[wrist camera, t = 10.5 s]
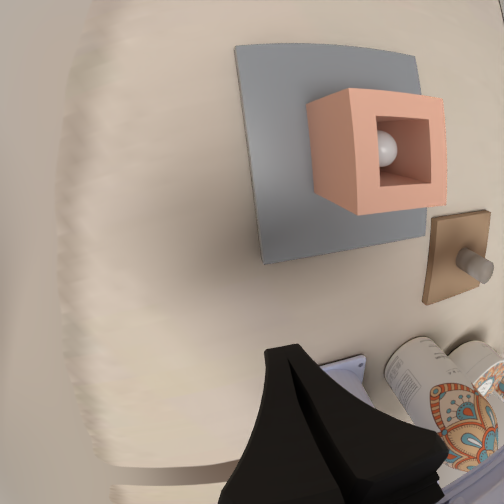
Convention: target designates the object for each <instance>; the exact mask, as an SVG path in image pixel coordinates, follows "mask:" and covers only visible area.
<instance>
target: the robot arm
mask: <svg viewBox="0 0 504 504" xmlns="http://www.w3.org/2000/svg"><path fill="white" fill-rule="evenodd" d="M264 357H265V365H266V372H265V382H264V390H263V395H262V400H261V404H260V409H259V412H258V416H257V419H256V422H255V425H254V428H253V431H252V434H251V436H250V439H249V441H248V444H247V446H246V448H245V450H244V453H243V455H242V457H241V459H240V461H239V462H238V465H237V467H236V468H235V470H234V472H233V474H232V475H231V477H230V478H229V480H228V481H227V483H226V485H225V486H224V488H223V489H222V491H221V494H220V497H219V501H218V504H504V445H503V446H502V447H501V448H499V449H498V450H497V451H496V452H494V453H493V454H492V455H490V456H489V457H488V458H487V459H485V460H484V461H483V462H481V463H480V464H478V465H477V466H476V467H474V468H473V469H471V470H470V471H469V472H467V473H466V474H464V475H463V476H461V477H460V478H458V479H457V480H455V481H453V482H452V483H450V484H448V485H447V486H445V487H444V488H442V489H441V488H440V486H439V482H438V480H439V476H438V474H437V472H436V471H437V469H438V468H439V467H440V466H441V465H442V463H443V462H444V461H445V460H446V458H447V457H448V454H449V449H448V447H447V446H446V444H445V443H444V441H443V440H442V438H441V437H440V436H439V435H438V434H437V433H436V431H433V430H429V429H425V428H422V427H418V426H415V425H412V424H409V423H406V422H403V421H401V420H398V419H396V418H394V417H392V416H389V415H387V414H385V413H383V412H381V411H379V410H377V409H376V408H375V407H374V405H373V403H372V401H371V400H370V398H369V396H368V394H367V393H366V391H365V389H364V387H363V386H362V381H363V375H364V369H365V363H366V358H365V356H364V355H359V356H356V357H352V358H349V359H345V360H342V361H338V362H334V363H330V364H327V365H323V366H318V365H317V364H316V363H315V362H314V361H313V360H312V359H311V357H310V356H309V355H308V354H307V353H306V352H305V351H304V350H303V348H302V347H301V346H300V345H299V344H292V345H287V346H282V347H277V348H271V349H266V350H265V351H264ZM360 363H361V364H360Z"/></svg>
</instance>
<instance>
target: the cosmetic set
mask: <svg viewBox="0 0 504 504" xmlns="http://www.w3.org/2000/svg"><path fill="white" fill-rule="evenodd" d="M385 379H386V381H387V382H388V384H389V386H390V387H391V389H392V390H393V392H394V393H395V395H396V396H397V398H398V399H399V401H400V402H401V404H402V405H403V407H404V408H405V410H406V412H407V413H408V415H409V416H410V418H411V419H412V421H413V422H414V424H415V426H418V427H422V428H425V429H429V430H433V431H436V433H437V434H438V435H439V436H440V437H441V438H442V440H443V441H444V443H445V444H446V446H447V447H448V449H449V454H448V457H447V458H446V460H445V461H444V462H443V463H444V464H445V465H447V466H449V467H452V468H455V469H458V470H462V471H465V472H469V471H470V470H471V469H473V468H474V467H476V466H477V465H478V464H480V463H481V462H483V461H484V460H485V459H487V458H488V457H489V456H490V455H492V454H493V453H494V452H496V451H497V450H498V424H497V419H496V415H495V413H494V411H493V409H492V407H491V405H490V404H489V403H488V401H487V400H486V399H487V398H488V397H489V396H490V395H491V394H492V393H493V394H494V395H495V396H497V397H498V398H499V399H500V400H501V401H503V402H504V359H503V358H502V357H501V356H500V355H499V354H498V353H497V352H496V351H495V350H494V349H492V348H491V347H490V346H489V345H488V344H486V343H484V342H482V341H470V342H467V343H464V344H462V345H461V346H459V347H458V348H456V349H455V350H454V351H453V352H452V353H451V354H450V355H449V356H447V355H446V354H445V353H444V352H443V351H442V350H441V349H440V348H439V347H438V346H437V345H436V344H435V343H434V342H433V341H432V340H431V339H430V338H428V337H418V338H415V339H412V340H410V341H408V342H407V343H405V344H404V345H402V346H401V347H400V348H399V349H398V350H397V351H396V352H395V353H394V354H393V356H392V357H391V359H390V360H389V362H388V364H387V366H386V369H385Z"/></svg>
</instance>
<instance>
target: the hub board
mask: <svg viewBox="0 0 504 504" xmlns="http://www.w3.org/2000/svg"><path fill="white" fill-rule="evenodd" d="M234 52H235V59H236V66H237V73H238V81H239V88H240V95H241V103H242V110H243V118H244V125H245V133H246V140H247V148H248V155H249V163H250V171H251V179H252V186H253V194H254V202H255V210H256V218H257V226H258V234H259V242H260V250H261V258H262V261H263V264H264V265H265V264H271V263H277V262H283V261H289V260H295V259H300V258H306V257H312V256H317V255H323V254H329V253H334V252H340V251H346V250H351V249H357V248H362V247H368V246H373V245H379V244H384V243H389V242H395V241H400V240H405V239H411V238H416V237H421V236H425V232H426V215H427V207H425V208H416V209H407V210H399V211H391V212H383V213H374V214H367V215H359V216H357V215H356V214H354V213H352V212H350V211H348V210H346V209H344V208H342V207H341V206H339V205H337V204H335V203H333V202H331V201H329V200H327V199H325V198H323V197H321V196H319V195H317V194H315V193H314V183H313V170H312V159H311V148H310V138H309V128H308V119H307V110H306V104H308V103H310V102H313V101H315V100H318V99H320V98H323V97H325V96H328V95H330V94H333V93H336V92H339V91H341V90H344V89H347V88H359V89H373V90H384V91H394V92H402V93H410V94H417V95H421V88H420V82H419V75H418V70H417V64H416V59H415V56H411V55H406V54H401V53H396V52H390V51H384V50H377V49H370V48H362V47H353V46H343V45H329V44H306V43H278V44H254V45H241V46H235V50H234ZM377 136H378V150H379V167H385V166H388V165H390V164H391V163H392V162H393V161H394V160H395V158H396V156H397V144H396V142H395V140H394V138H393V137H392V136H391V135H390V134H388V133H387V132H384V131H381V130H377Z"/></svg>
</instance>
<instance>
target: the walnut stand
mask: <svg viewBox="0 0 504 504" xmlns="http://www.w3.org/2000/svg"><path fill="white" fill-rule="evenodd" d="M490 215H491V212H489V211H486V210H482V211H476V212H469V213H462V214H456V215H449V216H443V217H436V218H432V221H431V235H430V247H429V256H428V265H427V273H426V280H425V287H424V293H423V299H422V302H423V303H424V304H425V305H430V304H433V303H436V302H439V301H442V300H444V299H447V298H450V297H453V296H455V295H458V294H461V293H463V292H466V291H469V290H471V289H474V288H476V287H479V284H480V282H481V283H482V284H485V283H487V282H488V281H489V279H490V278H491V276H492V273H493V270H494V265H493V263H492V262H491V261H489V260H487V259H485V253H486V247H487V240H488V233H489V225H490Z"/></svg>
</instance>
